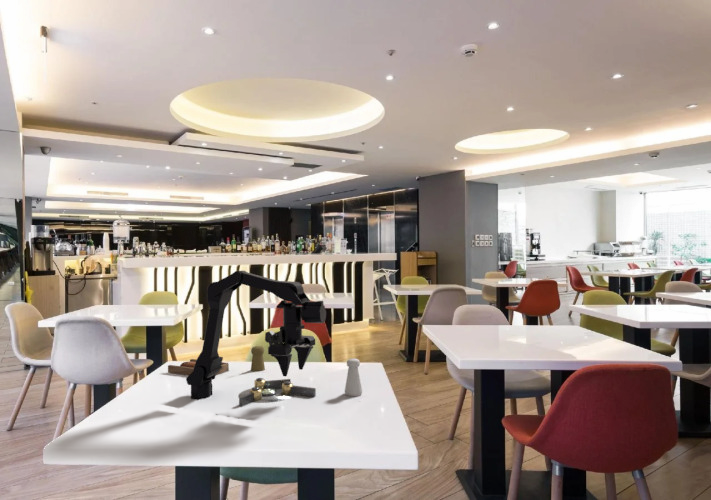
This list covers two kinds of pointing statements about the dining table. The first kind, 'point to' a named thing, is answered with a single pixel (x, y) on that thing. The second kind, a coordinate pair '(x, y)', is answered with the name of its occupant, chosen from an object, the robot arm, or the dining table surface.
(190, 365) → the sunglasses case
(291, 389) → the knob right
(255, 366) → the cork
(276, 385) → the knob left
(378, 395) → the dining table surface
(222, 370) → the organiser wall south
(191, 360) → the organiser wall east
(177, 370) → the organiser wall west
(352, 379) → the salt shaker
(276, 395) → the levelling base
